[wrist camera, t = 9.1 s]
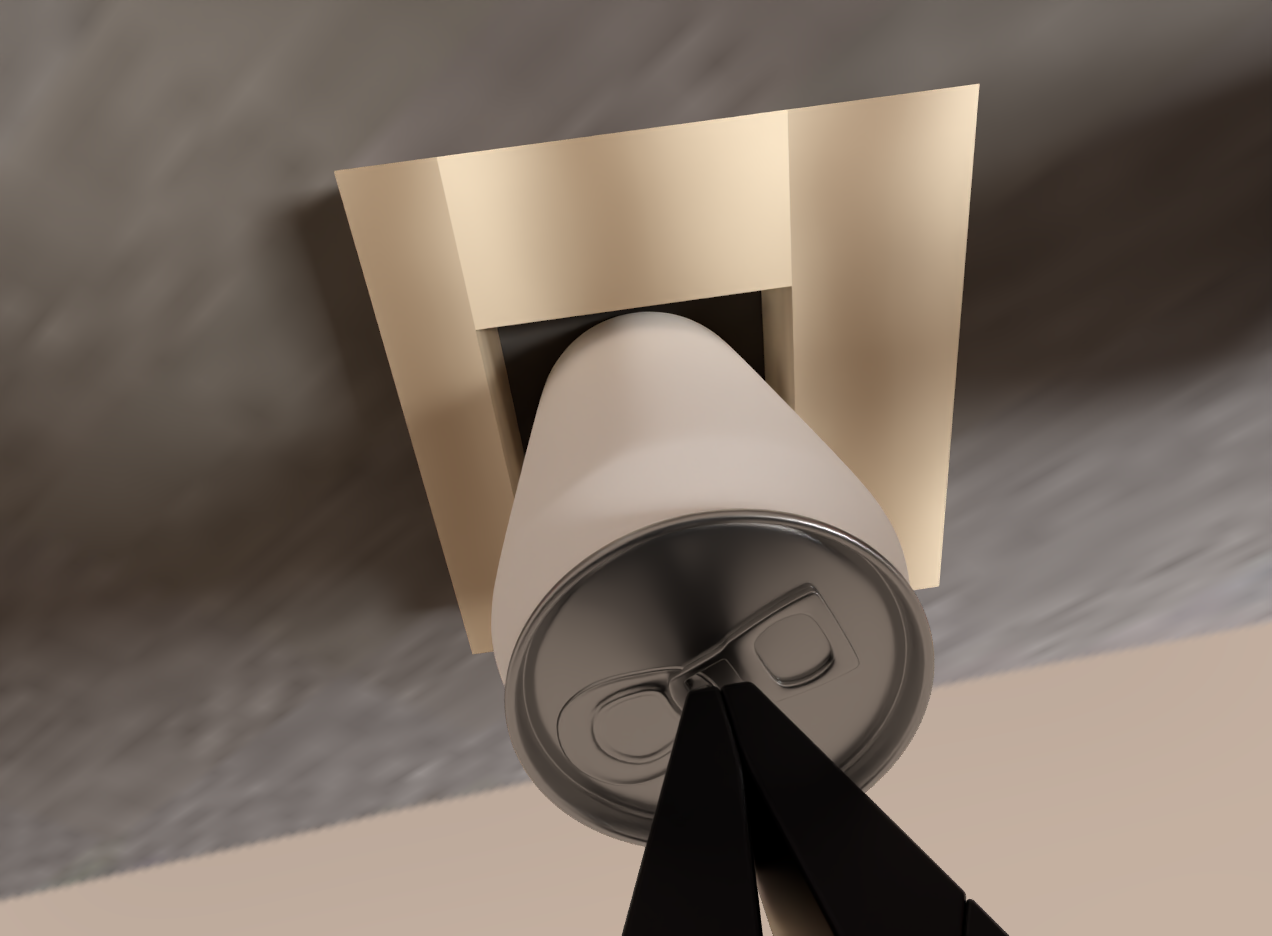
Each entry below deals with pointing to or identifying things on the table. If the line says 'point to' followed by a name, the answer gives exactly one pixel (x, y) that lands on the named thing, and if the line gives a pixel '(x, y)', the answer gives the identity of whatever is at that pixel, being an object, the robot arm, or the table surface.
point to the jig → (683, 288)
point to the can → (691, 574)
